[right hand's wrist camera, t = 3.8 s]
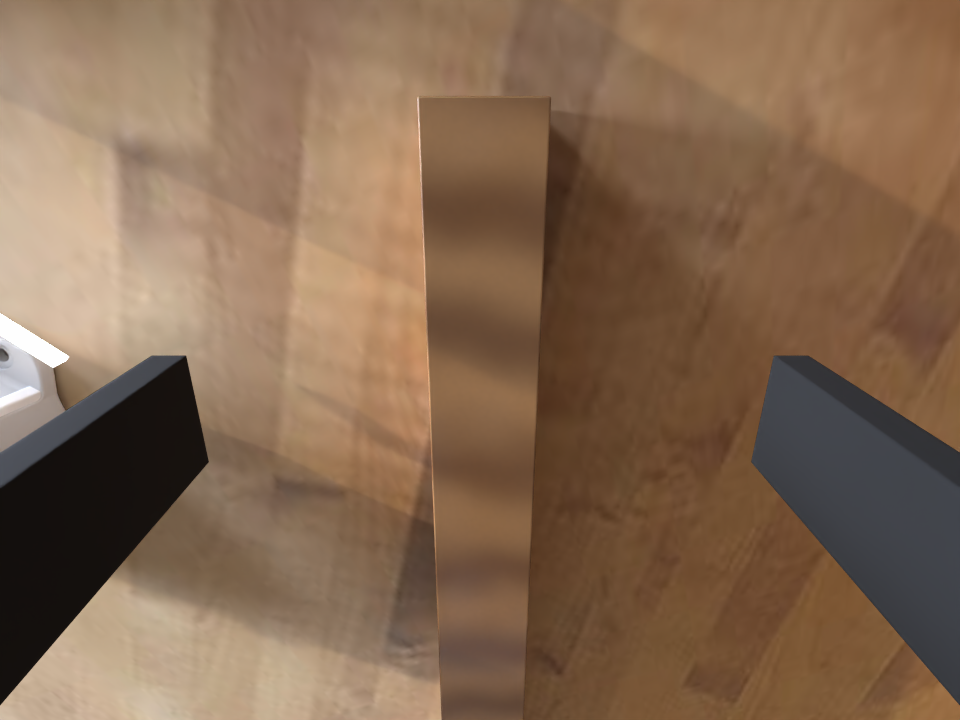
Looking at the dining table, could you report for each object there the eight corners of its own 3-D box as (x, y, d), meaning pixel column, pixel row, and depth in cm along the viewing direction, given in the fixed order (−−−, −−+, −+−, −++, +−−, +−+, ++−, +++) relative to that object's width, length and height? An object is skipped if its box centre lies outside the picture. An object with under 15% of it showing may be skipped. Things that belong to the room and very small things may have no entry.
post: (433, 107, 28) (417, 95, 21) (533, 107, 28) (551, 95, 21) (453, 795, 50) (448, 907, 43) (510, 796, 50) (515, 907, 43)
